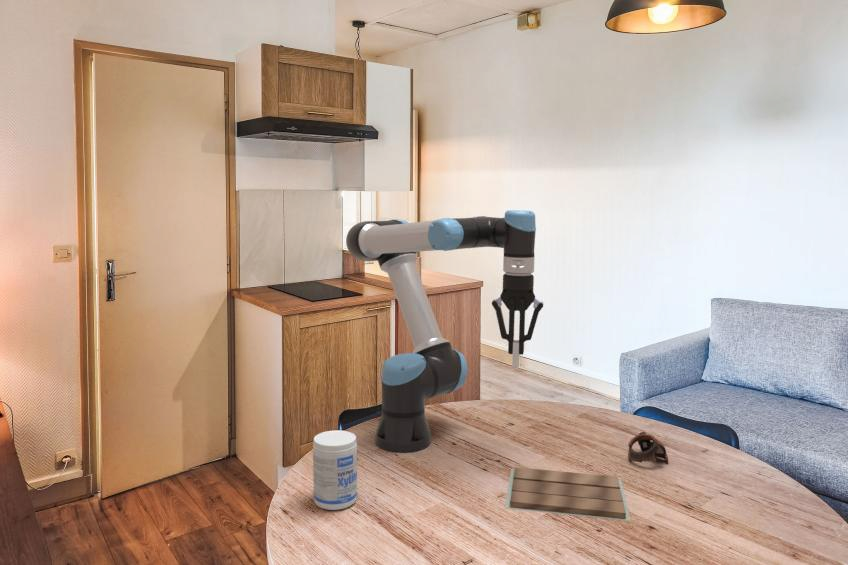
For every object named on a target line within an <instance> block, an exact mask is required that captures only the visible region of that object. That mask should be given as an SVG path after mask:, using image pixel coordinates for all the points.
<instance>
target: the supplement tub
mask: <svg viewBox="0 0 848 565" xmlns="http://www.w3.org/2000/svg"><path fill="white" fill-rule="evenodd" d="M357 446H358V444H357V435H356V434H354V433H353V432H350V431H347V430H340V429H339V430H328V431H322V432H320V433H318V434H316V435H315V436H314V437H313V444H312V461H313V462H312V463H313V464H312V465H313V467H312V468H313V469H312V470H313V472H312V473H313V476H312V477H313V502H314V504H315V505H316V506H317V507H319V508H321V509H323V510H329V511H337V510H344V509H348V507H351V506H352V505H353V504H355V503H356V500H357V497H358V484H357V483H358V467H357V466H358V463H357V462H358V459H357V458H358V447H357Z"/></svg>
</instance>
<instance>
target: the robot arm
mask: <svg viewBox="0 0 848 565" xmlns="http://www.w3.org/2000/svg"><path fill="white" fill-rule="evenodd" d="M536 231H537V227H536V214H535V212H534V211H533V210H524V209H523V210H522V209H521V210H516V209H515V210H514V209H513V210H511V209H507V210H506V211H505V212H504V216H503V217H494V216H493V217H491V216H484V215H482V216H481V215H480V216H472V217H461V218H460V217H456V218H451V217H447V218H445V217H444V218H443V217H442V218H440V219H435V220H423V221H416V222H415V221H414V222H408V221H406V220H399V219H389V220H372V221H371V220H368V221H367V220H364V221H361V222H358V223H356V224H354V225H353V226H352V227H351V228H350V229H349V230H348V232H347V235H346V239H345V244H346V247H347V250H348V253H350V255H351V256H352V257H353V258H355V259H357V260H359V261H362V262H374V261H376V262H377V263H378V265H379V268H380V270H381V271H382V272H384V273H386V274H387V275H388V278H389V281H390V284H391V286H392V288H393V292H394V294H395V297H396V301H397V303H398V306H399V308H400V311H401V314H402V317H403V319H404V322H405V325H406V328H407V330H408V333H409V336H410V339H411V341H412V345H413V348H414V349H413V351H412V352H408V353H406V352H405V353H399V354H395V355H393V356H390V357H388V358H387V359H386V360H385V361H384V362H383V364H382V368H381V369H382V370H381V379H380V380H381V416H380V419H379V422H378V425H377V427H376V431H375V444H376V446H378V447H379V448H381V449H382V450H386V451H389V452H396V453H407V452H408V453H411V452H416V451H420V450H424V449H425V448H427V447H428V446H430V444H431V443H432V433H431V432H432V431H431V430H430V426H429V422H428V420H427V417H426V415H425V414H426V412H425V410H426V409H425V408H426V401H427V400H428V399H432V398H435V397H438V396H442V395H445V394H446V395H447V394H450V393H453V392H454V391H458V389H460V388H462V386H463V385H465V382H466V378H467V377H468V363H467V360H466V358H465V356H464V354H463V353H462V352H460V351H459V350H457V349H454V348H453V347H452V344H451V342H450V341H449V339H446V338H444V337H443V336H442V335H443V334H442V332H441V330H440V328H439V324H438V322H437V320H436V316H435V314H434V312H433V308H432V306H431V303H430V301H429V298H428V295H427V292H426V290H425V287H424V285H423V282H422V279H421V277H420V274H419V271H418V268H417V266H416V261H417V259H418V252H432V251H445V252H447V251H454V250H455V251H456V250H463V249H476V248H488V247H489V248H500V249H503V262H502V263H503V264H502V265H503V266H502V272H504V273H503V275H502V291H501V294H500V296H499V297H498V298H496V299H493V300H492V301H491V306H492V307H493V309H494V311H495V314H496V320H497V324H498V329H499V332H500V338H501V339H503V340H506V341H507V342H508V345H507V347H508V348H507V353H508V355H512V359H511V360H512V361H511V362H512V365H511V366H512V367H511V368H512V369H519V367H520V355H522V356H523V355H524V352H525V342H527V341H531V340H532V336H533V333H534V330H535V326H536V323H537V320H538V317H539V313H540V312H541V311H542V309H543V307H544V302H543V301H540V300H539V299H538V298H536V295H535V293H534V283H535V282H534V281H535V276H534V275H533V273H534V272H535V245H536ZM502 303H503V304H504V305H505V307H506V308H507V310H508V333H507V329H506V324H505V320H504V316H503V311H502V305H503V304H502ZM532 304H533V306H532V307H533V313H532V316H531V319H530V323H529V326H528V331H527V333H526V334H525V329H526V328H525V326H526V324H525V322H526V311H527V310H528V309H529V308H530V306H531V305H532ZM516 311H518V312H519V324H518V329H519V330H518V332H519V333H518V339H517V340H516V339H515V312H516Z"/></svg>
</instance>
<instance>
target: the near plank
mask: <svg viewBox="0 0 848 565" xmlns="http://www.w3.org/2000/svg"><path fill="white" fill-rule="evenodd" d="M512 491H518V492H528V493H539V494H549V495H559V496H569V497H579V498H590V499H600V500H610V501H620V502H623V498H622V494H621V490H620V489H614V488H603V487H593V486H582V485H571V484H561V483H550V482H540V481H529V480H518V479H513V485H512Z"/></svg>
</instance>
